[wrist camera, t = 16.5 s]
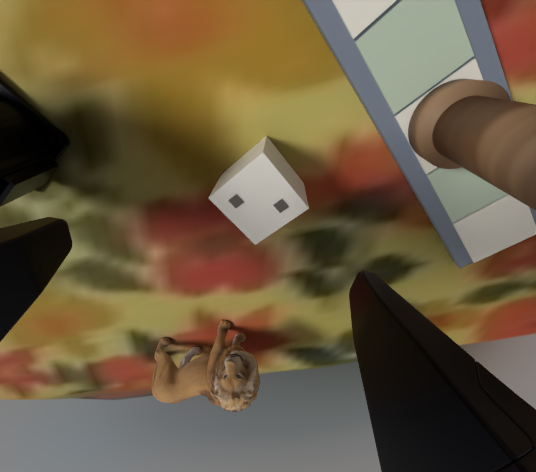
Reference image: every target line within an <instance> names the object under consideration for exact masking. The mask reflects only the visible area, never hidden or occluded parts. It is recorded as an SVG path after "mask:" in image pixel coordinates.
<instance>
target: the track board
mask: <svg viewBox="0 0 536 472" xmlns="http://www.w3.org/2000/svg"><path fill="white" fill-rule="evenodd" d="M302 1H303V3H304V5H305V7H306V8H307V10H308V12H309V13H310V15H311V17H312V19H313V20H314V22H315V24H316V25H317V27H318V29H319V31H320V32H321V34H322V36H323V37H324V39H325V41H326V43H327V44H328V46H329V48H330V49H331V51H332V53H333V55H334V56H335V58H336V60H337V61H338V63H339V65H340V67H341V68H342V70H343V72H344V74H345V75H346V77H347V79H348V80H349V82H350V84H351V86H352V87H353V89H354V91H355V92H356V94H357V96H358V98H359V99H360V101H361V103H362V104H363V106H364V108H365V110H366V111H367V113H368V115H369V116H370V118H371V120H372V122H373V123H374V125H375V127H376V128H377V130H378V132H379V134H380V135H381V137H382V139H383V140H384V142H385V144H386V146H387V147H388V149H389V151H390V152H391V154H392V156H393V158H394V159H395V161H396V163H397V165H398V166H399V168H400V170H401V171H402V173H403V175H404V177H405V178H406V180H407V182H408V183H409V185H410V187H411V189H412V190H413V192H414V194H415V195H416V197H417V199H418V201H419V202H420V204H421V206H422V207H423V209H424V211H425V213H426V214H427V216H428V218H429V219H430V221H431V223H432V225H433V226H434V228H435V230H436V231H437V233H438V235H439V237H440V238H441V240H442V242H443V243H444V245H445V247H446V249H447V250H448V252H449V254H450V255H451V257H452V259H453V261H454V262H455V264H456V265H457V266H458V267H459V268H462V267H464V266H466V265H468V264H470V263H473V262H474V263H475V262H477V261H480V260H482V259H484V258H486V257H488V256H490V255H492V254H495V253H497V252H499V251H501V250H503V249H505V248H508V247H510V246H512V245H514V244H516V243H518V242H521V241H523V240H525V239H527V238H529V237H531V236H534V235H536V210H534V209H532V208H530V207H529V206H527V205H525V204H524V203H522V202H520V201H519V200H517V199H515V198H514V197H512V196H510V195H508V194H507V193H505V192H503V191H502V190H500V189H498V188H497V187H495V186H493V185H492V184H490V183H488V182H486V181H485V180H483V179H481V178H480V177H478V176H476V175H475V174H473V173H471V172H469V171H468V170H466V169H464V168H463V167H461V168H457V169H443V168H439V167H436V166H434V165H432V164H431V163H429V162H428V161H426V160H425V159H423V158H422V157H420V156H419V155H418V154H417V153H415V152H414V150H413V149H412V147H411V145H410V143H409V139H408V127H409V122H410V119H411V116H412V114H413V112H414V110H415V109H416V107H417V105H418V104H419V103H420V101H421V100H422V99H423V98H424V97H425V96H426V95H427V94H428V93H429V92H430V91H432V90H433V89H435V88H436V87H438V86H439V85H441V84H443V83H446V82H448V81H451V80H456V79H473V80H484V81H491V82H495V83H497V84H499V85H500V86H502V87H503V88H504V89H505V90H506V91H507V92H508V94H509V96H510V99H511V101H512V97H511V94H510V91H509V88H508V85H507V82H506V79H505V76H504V73H503V70H502V67H501V63H500V60H499V57H498V54H497V51H496V48H495V45H494V42H493V39H492V36H491V33H490V29H489V26H488V23H487V20H486V17H485V14H484V11H483V8H482V5H481V2H480V0H302Z"/></svg>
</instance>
